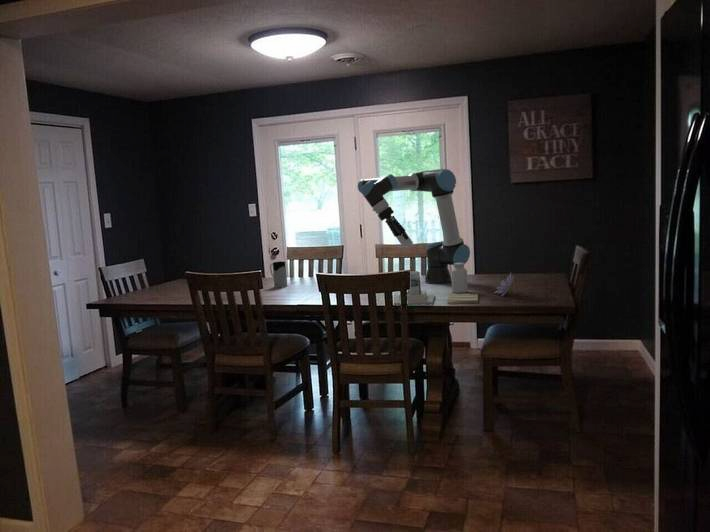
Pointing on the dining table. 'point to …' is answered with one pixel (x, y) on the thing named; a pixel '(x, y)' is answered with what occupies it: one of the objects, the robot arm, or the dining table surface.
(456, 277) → the pill bottle
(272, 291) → the dining table surface
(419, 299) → the collar holder
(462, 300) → the ash board
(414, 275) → the syrup box
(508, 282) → the water lily
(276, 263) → the glass holder
